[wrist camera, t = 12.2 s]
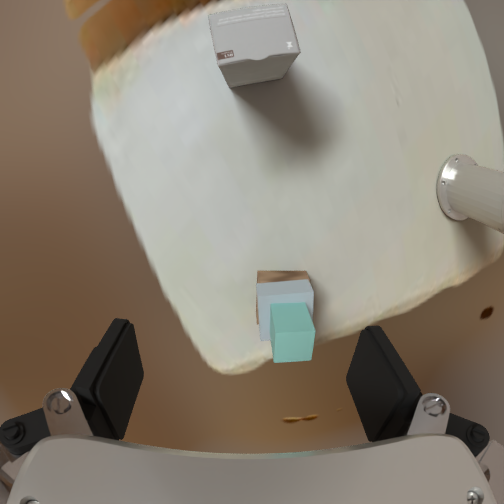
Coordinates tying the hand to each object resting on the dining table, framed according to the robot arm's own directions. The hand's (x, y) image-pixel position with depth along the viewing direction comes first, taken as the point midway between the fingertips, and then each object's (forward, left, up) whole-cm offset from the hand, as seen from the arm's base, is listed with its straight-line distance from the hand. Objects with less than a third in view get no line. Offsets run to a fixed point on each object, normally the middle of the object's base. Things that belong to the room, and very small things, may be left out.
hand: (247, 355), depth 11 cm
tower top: (-7, +16, -31) cm, 35 cm away
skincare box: (0, -20, -34) cm, 40 cm away
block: (-7, +16, -27) cm, 32 cm away
